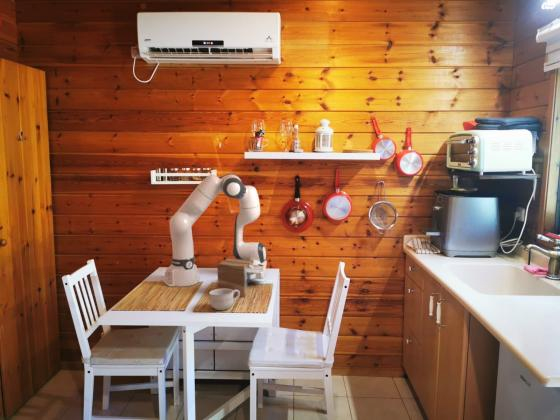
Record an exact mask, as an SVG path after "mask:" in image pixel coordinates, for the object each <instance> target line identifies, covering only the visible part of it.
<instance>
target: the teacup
mask: <svg viewBox="0 0 560 420" xmlns="http://www.w3.org/2000/svg"><path fill="white" fill-rule="evenodd" d="M235 292H237V293H238V295H237V296H236V297H235V296H233V295H234V293H235ZM208 293H209V303H210V306H211V307H212V308H213V309H214V310H216V311H224V310H228V309H230V308H231V307H232V306H233V305H234V303H235V301H237V299H239V298H240V297H239V296H240V292H239V291H238V290H232V289H226V288H224V289H218V288H215V289H212V290H210V291H209V292H208Z"/></svg>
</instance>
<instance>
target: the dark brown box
mask: <svg viewBox="0 0 560 420" xmlns="http://www.w3.org/2000/svg"><path fill="white" fill-rule="evenodd" d="M251 264H253V260H244V259H236V258H226V259H224V260H223V261H221V262H220V263H219V262H218V263H217V264H216V267H217V289H224V288H226V289H232V290H238V291H239V292H240V296H239V297H238V298H246V296H247V295H246V293H247V292H246V291H247V290H246V289H247V287H245V268H247V267H248V266H250V265H251ZM237 295H238V293H237V292H235V293H234V295H233V297H235V296H237Z"/></svg>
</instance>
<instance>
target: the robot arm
mask: <svg viewBox="0 0 560 420" xmlns="http://www.w3.org/2000/svg"><path fill="white" fill-rule="evenodd" d="M220 194H224V195H225V196H226V197H228V198H230V199H236V200H238V205H239V212H238V214H237V215H236V216H235V219H234V227H233V228H234V229H233V230H234V231H233V237H234V238H233V246H232V256H233V257H234V259H244V260H253V264H251V265H250V266H248V267H247V268H245V270H247V280H254V279H255V280H256V279H257V280H263V279H265V278H266V276H267V265H268V264H267V256H268V255H267V253H268V252H267V248H266V246H265V245H264V243H262V242H245V241H244V240H243V239H244V238H243V236H244V235H243V234H244V227H245V226H246V225H249V224H251V223H253V222H255V221H256V220H257V219H258V218H260V215H261V205H260V198H259V194H258V191H257V189H256V187H254V186H252V185H244V183H243V182H242V180H241V178H240V177H239V176H238V175H236V174H234V173H228V174H227V173H226V174H224V175H221V176H217V175H216V174H215V175H214V174H210V175H208V176H206V177H205V178H204V179H203V180H202V181H201V182H200V183H199V184H198V185H197V186H196V187H195V189H194V190H193V191H192V192H191V194H190V195H189V196H188V197H187V198H186V200H185V201H184V203H182V205H181V206H180V207H179V209H178V210H177V211H176V212H175V214H173V215H172V216H171V217H170V219H169V222H168V223H169V232H170V239H171V246H172V257H171V258H170V261H171V263H170V265H169V266H168V267H167V268H166V269H165V272H164V277H162V278H161V281H162V283H164V284H165V285H167V286H168V287H189V286H193V285H196V284H198V282H199V281H200V280H201V277H199V276H198V275H199V274H198V268H197V265H196V264H195V263H196V257H195V256H194V255H195V252H194V249H195V248H194V240H193V232H192V231H193V230H192V226H193V225H194V224H195V223H196V222H197V220H198V219H199V217H201V216H202V214H203V213H204V212H205V211H206V210H207V208H208V207H209V206H210V205H211V204H212V202H214V200H215V199H216V198H217V196H218V195H220Z"/></svg>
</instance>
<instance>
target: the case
mask: <svg viewBox="0 0 560 420" xmlns="http://www.w3.org/2000/svg"><path fill="white" fill-rule="evenodd" d="M245 287H246V288H248V278H247V270H245Z"/></svg>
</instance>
